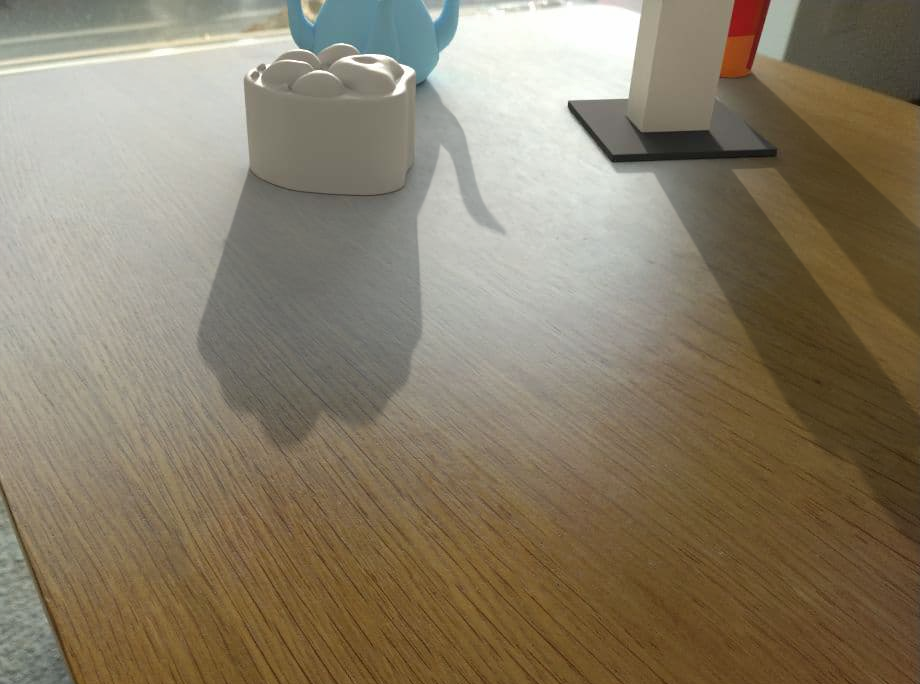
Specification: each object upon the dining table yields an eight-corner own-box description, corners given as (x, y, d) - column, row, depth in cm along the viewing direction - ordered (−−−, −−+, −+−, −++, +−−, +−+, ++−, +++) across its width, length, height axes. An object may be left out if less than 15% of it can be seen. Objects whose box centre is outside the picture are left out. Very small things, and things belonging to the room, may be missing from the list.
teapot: (368, 48, 107) (367, -54, 101) (480, 74, 99) (486, -35, 93) (273, 79, 98) (265, -31, 92) (388, 110, 90) (388, -8, 84)
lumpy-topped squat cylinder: (398, 199, 74) (400, 82, 69) (232, 186, 75) (222, 72, 70) (419, 150, 82) (422, 43, 77) (269, 139, 84) (262, 34, 79)
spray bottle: (625, 115, 87) (657, -101, 78) (694, 113, 88) (735, -102, 78) (641, 132, 84) (677, -92, 74) (713, 130, 84) (758, -93, 74)
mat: (712, 102, 93) (713, 95, 92) (776, 155, 81) (778, 148, 81) (567, 106, 91) (567, 100, 91) (611, 161, 80) (612, 154, 80)
